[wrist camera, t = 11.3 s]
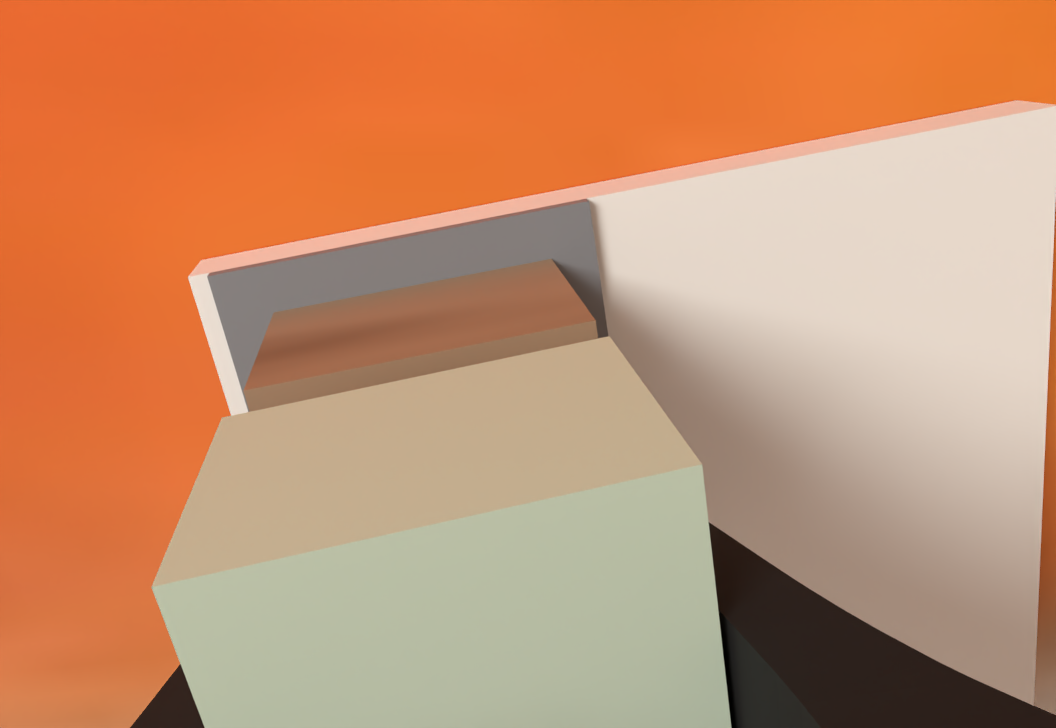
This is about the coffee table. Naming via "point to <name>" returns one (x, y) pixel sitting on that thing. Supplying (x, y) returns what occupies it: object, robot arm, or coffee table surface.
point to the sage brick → (452, 557)
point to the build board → (794, 349)
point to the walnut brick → (415, 332)
